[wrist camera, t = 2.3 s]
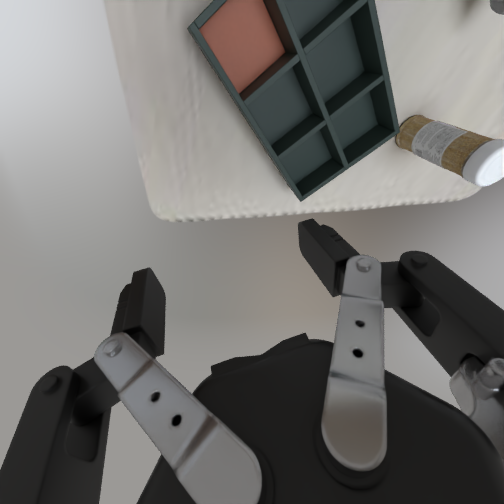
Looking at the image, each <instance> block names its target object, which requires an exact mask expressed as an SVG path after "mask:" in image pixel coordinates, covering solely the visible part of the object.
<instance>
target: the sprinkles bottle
mask: <svg viewBox="0 0 504 504" xmlns="http://www.w3.org/2000/svg"><path fill="white" fill-rule="evenodd" d="M399 130H400V133H398V134H397V138H396V142H397V145H398V146H399V147H400V148H402V149H406V150H408V151H410V152H413V153H414V154H415V155H417V156H419V157H421V158H423V159H425V160H427V161H429V162H431V163H434V164H436V165H438V166H440V167H442V168H444V169H448V170H450V171H452V172H454V173H456V174H458V175H460V176H462V178H464V179H465V180H467V181H469V182H471V183H473V184H475V185H478V186H488V185H490V184H493V183H494V182H497V181H498V180H500V179H501V178H503V177H504V140H502V139H492V138H488V137H485V136H482V135H479V134H476V133H473V132H470V131H467V130H464V129H461V128H458V127H456V126H453V125H450V124H446V123H443V122H440V121H435V120H431V119H428V118H426V117H424V116H422V115H416V116H413V117H411V118H409V119H408V120H407V121H406V122H404V124H403V125H402V126H401V127H400V129H399Z"/></svg>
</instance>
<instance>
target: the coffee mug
mask: <svg viewBox="0 0 504 504" xmlns="http://www.w3.org/2000/svg"><path fill="white" fill-rule="evenodd" d="M490 6H491V8H492V10H493V11H494V12H496V13H498V14H503V15H504V0H490Z"/></svg>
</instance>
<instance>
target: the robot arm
mask: <svg viewBox="0 0 504 504" xmlns="http://www.w3.org/2000/svg"><path fill="white" fill-rule="evenodd" d="M298 233H299V246H300V250H301V253H302V255H303V256H304V258H305V259H306V261H307V262H308V263H309V265H310V266H311V267H312V269H313V270H314V272H315V273H316V274H317V276H318V277H319V279H320V280H321V281H322V283H323V284H324V286H325V287H326V288H327V290H328V291H329V293H330V294H331V295H332V297H335V296H338V295H341V301H340V307H339V314H338V320H337V327H336V333H335V340H334V343H332V342H329V341H325V340H319V339H308V337H307V335H306V333H303V334H300V335H297V336H295V337H291V338H289V339H286V340H283V341H281V342H280V343H278V344H277V345H276V346H274V347H273V348H271V349H270V350H268V351H266V352H265V353H263V354H262V355H257V356H247V357H235V358H232V359H229V360H226V361H223V362H221V363H218V364H215V365H213V366H211V371H212V374H211V375H210V376H208V377H207V378H206V379H205V380H203V381H202V382H201V383H200V385H199V386H198V387H197V388H196V389H195V391H194V392H193V393H192V394H191V393H190V392H189V391H188V390H187V389H186V388H185V387H184V386H183V385H182V384H181V383H180V382H179V381H178V380H177V379H176V378H174V377H173V376H172V375H171V374H170V373H169V372H168V371H167V370H166V369H165V368H164V367H163V366H162V365H161V364H160V363H159V362H158V361H157V360H155V359H156V357H157V356H160V355H163V354H164V340H165V339H164V338H165V305H166V297H165V292H164V290H163V288H162V286H161V284H160V282H159V281H158V279H157V277H156V276H155V274H154V272H153V271H152V269H151V268H146V269H142V270H139V271H136V272H134V273H133V277H132V282H131V284H127V285H126V286H125V287H124V289H123V290H122V292H121V293H120V297H119V301H118V302H119V303H118V305H117V311H116V314H115V318H114V322H113V326H112V331H111V335H110V336H109V337H108V338H106V339H105V340H104V341H103V342H102V343H101V344H100V345H99V347H98V348H97V350H96V352H95V355H94V357H93V358H92V359H90V360H89V361H87V362H85V363H83V364H82V365H80V366H78V367H77V368H75V369H74V370H72V369H71V368H70V367H68V366H59V367H56V368H54V369H52V370H50V371H49V372H47V373H46V374H45V375H44V376H43V377H41V378H40V380H39V381H38V382H37V383H36V384H35V386H34V387H33V389H32V391H31V393H30V396H29V398H28V401H27V403H26V406H25V408H24V411H23V413H22V416H21V419H20V421H19V424H18V426H17V429H16V431H15V434H14V437H13V439H12V442H11V444H10V447H9V449H8V452H7V454H6V457H5V459H4V462H3V465H2V467H1V470H0V504H99V499H100V491H101V484H102V476H103V468H104V460H105V452H106V445H107V436H108V429H109V421H110V413H111V407H112V406H114V405H115V404H116V403H118V402H119V401H122V403H123V404H124V405H125V407H126V408H127V409H128V410H129V412H130V413H131V414H132V416H133V417H134V418H135V420H136V421H137V422H138V424H139V425H140V426H141V427H142V429H143V430H144V431H145V433H146V434H147V435H148V437H149V438H150V439H151V440H152V442H153V443H154V444H155V446H156V447H157V448H158V450H159V451H160V452H161V456H160V458H159V460H158V462H157V464H156V466H155V468H154V470H153V472H152V474H151V476H150V478H149V480H148V482H147V484H146V486H145V488H144V490H143V492H142V494H141V496H140V498H139V500H138V502H137V504H504V310H503V309H501V308H500V307H499V306H497V305H496V304H495V303H493V302H492V301H491V300H489V299H488V298H487V297H486V296H484V295H483V294H482V293H480V292H479V291H478V290H476V289H475V288H474V287H473V286H471V285H470V284H468V283H467V282H466V281H464V280H463V279H462V278H461V277H459V276H458V275H457V274H456V273H454V272H453V271H452V270H450V269H449V268H447V267H446V266H445V265H444V264H442V263H441V262H440V261H439V260H437V259H436V258H435V257H433V256H432V255H429V254H428V253H425V252H420V251H409V252H405V253H403V254H402V255H401V257H400V260H399V261H395V262H379V261H378V260H377V259H375V258H374V257H371V256H368V255H360V254H359V253H358V252H357V251H356V250H355V249H354V248H353V247H352V246H351V245H350V244H348V243H347V242H346V241H345V240H344V239H343V238H342V237H341V236H340V235H338V233H337V232H336V231H335V230H334V229H333V228H331V227H329V226H326V225H321V226H320V225H319V224H318V223H317V222H316V221H315V220H314V219H309V220H305V221H302V222H299V224H298ZM384 308H393V309H394V310H395V312H396V313H397V314H398V315H399V316H400V318H401V319H402V320H403V321H404V322H405V323H406V325H407V326H408V327H409V328H410V329H411V330H412V332H413V333H414V334H415V335H416V336H417V337H418V339H419V340H420V341H421V342H422V343H423V345H424V346H425V347H426V348H427V349H428V350H429V352H430V353H431V354H432V355H433V356H434V358H435V359H436V360H437V361H438V362H439V363H440V365H441V366H442V367H443V368H444V369H445V370H446V372H447V373H448V374H449V375H450V376H451V379H450V389H451V392H452V394H453V395H454V397H455V398H456V401H457V403H458V404H459V406H460V408H461V411H460V410H459V409H458V408H456V407H454V406H453V405H451V404H449V403H447V402H445V401H443V400H442V399H439V398H438V397H436V396H434V395H432V394H430V393H428V392H427V391H425V390H422V389H421V388H419V387H417V386H415V385H413V384H411V383H409V382H407V381H405V380H404V379H402V378H400V377H398V376H396V375H394V374H392V373H391V372H388V371H387V370H385V369H384Z"/></svg>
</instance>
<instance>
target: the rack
mask: <svg viewBox="0 0 504 504" xmlns="http://www.w3.org/2000/svg"><path fill="white" fill-rule="evenodd" d="M188 31H189V32H190V34H191V35H192V37H193V38H194V40H195V42H196V43H197V45H198V46H199V48H200V49H201V51H202V52H203V54H204V55H205V57H206V59H207V60H208V62H209V63H210V65H211V66H212V68H213V69H214V71H215V72H216V74H217V76H218V77H219V79H220V80H221V82H222V83H223V85H224V86H225V88H226V89H227V91H228V93H229V94H230V96H231V97H232V99H233V100H234V102H235V103H236V105H237V106H238V108H239V110H240V111H241V113H242V114H243V116H244V117H245V119H246V120H247V122H248V123H249V125H250V127H251V128H252V130H253V131H254V133H255V134H256V136H257V137H258V139H259V141H260V142H261V144H262V145H263V147H264V148H265V150H266V151H267V153H268V154H269V156H270V158H271V159H272V161H273V162H274V164H275V165H276V167H277V168H278V170H279V171H280V173H281V175H282V176H283V178H284V179H285V181H286V182H287V184H288V185H289V187H290V188H291V190H292V191H293V192H294V194H295V195H296V196H297V198H298V199H299V200H300V202H301V201H303V200H304V199H306V198H307V197H308V196H310V195H311V194H313V193H314V192H316V191H317V190H318V189H320V188H321V187H323V186H324V185H325V184H327V183H328V182H330V181H331V180H333V179H334V178H335V177H337V176H338V175H340V174H341V173H343V172H344V171H345V170H347V169H348V168H349V167H351V166H353V165H354V164H355V163H357V162H358V161H360V160H361V159H363V158H364V157H365V156H367V155H368V154H370V153H371V152H373V151H374V150H375V149H377V148H378V147H380V146H381V145H382V144H384V143H385V142H387V141H388V140H390V139H391V138H392V137H394V136H395V135H397V134H398V133H400V130H399V124H398V119H397V114H396V109H395V104H394V98H393V93H392V88H391V83H390V78H389V73H388V67H387V62H386V57H385V52H384V47H383V41H382V36H381V31H380V26H379V21H378V16H377V10H376V5H375V0H213V2H212V3H211V4H210V5H209V6H208V7H207V8H206V9H205V10H204V11H203V12H202V13H201V14H200V15H199V16H198V17H197V18H196V19H195V20H194V22H193V23H192V24H191V25H190V26H189V27H188Z"/></svg>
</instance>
